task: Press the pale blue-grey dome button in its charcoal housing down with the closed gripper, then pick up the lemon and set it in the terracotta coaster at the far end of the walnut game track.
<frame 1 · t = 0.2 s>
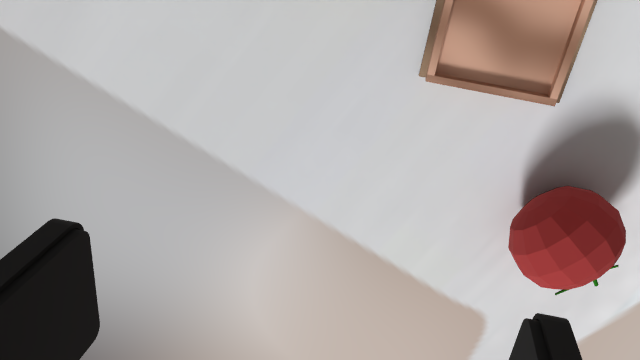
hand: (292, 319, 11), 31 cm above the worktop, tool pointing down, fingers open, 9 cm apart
tomato: (555, 213, 42), on the worktop
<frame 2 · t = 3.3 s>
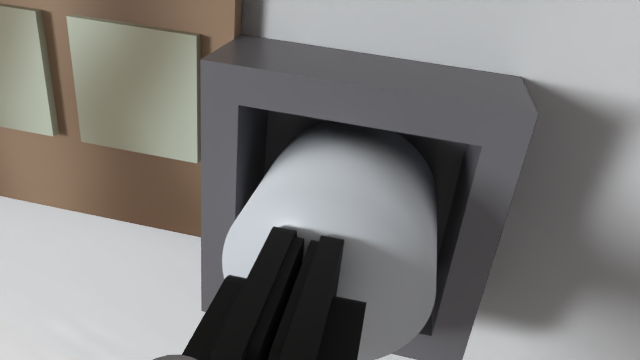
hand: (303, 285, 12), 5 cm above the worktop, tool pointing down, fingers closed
housing: (357, 179, 17), on the worktop
dome: (339, 235, 14), point 3 cm above the worktop, slide at 0.2 cm, touching gripper
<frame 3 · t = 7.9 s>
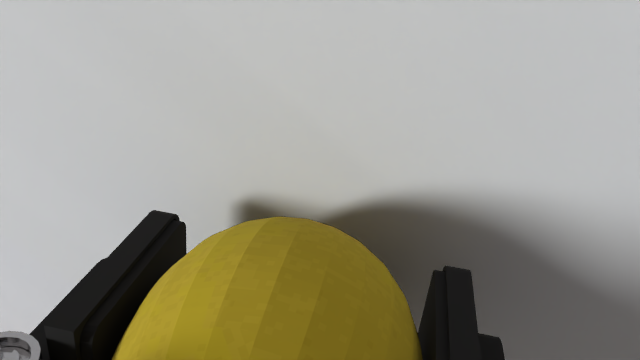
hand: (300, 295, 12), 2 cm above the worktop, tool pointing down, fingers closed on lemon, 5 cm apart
lemon: (314, 252, 14), on the worktop, touching gripper
when the fingers open (3 cm above the worktop, at t = 12.7 s): lemon stays where it is, resting on board.
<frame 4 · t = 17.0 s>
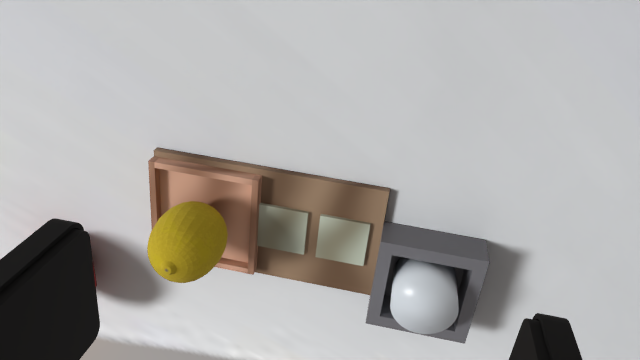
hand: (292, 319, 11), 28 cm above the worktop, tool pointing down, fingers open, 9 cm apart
lemon: (209, 213, 44), point 1 cm above the worktop, touching board
board: (267, 221, 44), on the worktop
housing: (424, 271, 44), on the worktop
dome: (424, 291, 42), point 3 cm above the worktop, slide at 0.9 cm
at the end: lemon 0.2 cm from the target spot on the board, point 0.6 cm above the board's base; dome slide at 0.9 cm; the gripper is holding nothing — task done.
